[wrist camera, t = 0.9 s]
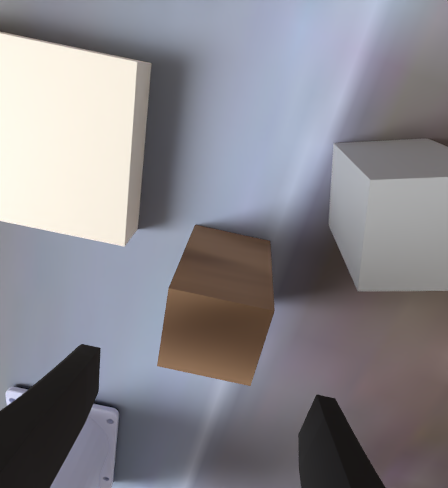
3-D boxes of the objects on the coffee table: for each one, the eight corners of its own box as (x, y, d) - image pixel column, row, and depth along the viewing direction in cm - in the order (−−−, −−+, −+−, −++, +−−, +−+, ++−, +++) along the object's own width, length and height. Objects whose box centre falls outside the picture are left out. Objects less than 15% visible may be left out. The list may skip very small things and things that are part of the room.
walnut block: (252, 302, 20) (250, 385, 15) (184, 287, 20) (157, 365, 15) (270, 240, 19) (274, 310, 13) (195, 224, 18) (168, 288, 13)
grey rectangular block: (412, 222, 17) (480, 290, 12) (328, 224, 18) (358, 291, 12) (426, 138, 16) (514, 174, 10) (333, 143, 16) (370, 180, 11)
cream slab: (140, 226, 19) (124, 246, 17) (-5, 196, 19) (-40, 212, 17) (154, 63, 16) (137, 62, 13) (-24, 26, 16) (-71, 18, 13)
